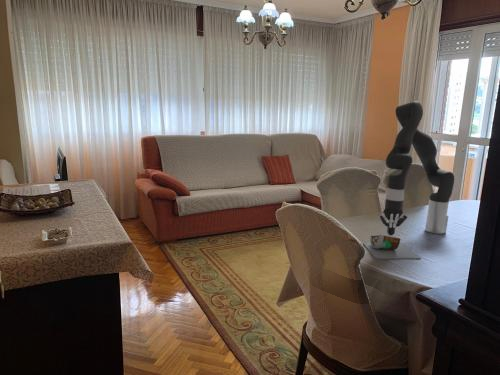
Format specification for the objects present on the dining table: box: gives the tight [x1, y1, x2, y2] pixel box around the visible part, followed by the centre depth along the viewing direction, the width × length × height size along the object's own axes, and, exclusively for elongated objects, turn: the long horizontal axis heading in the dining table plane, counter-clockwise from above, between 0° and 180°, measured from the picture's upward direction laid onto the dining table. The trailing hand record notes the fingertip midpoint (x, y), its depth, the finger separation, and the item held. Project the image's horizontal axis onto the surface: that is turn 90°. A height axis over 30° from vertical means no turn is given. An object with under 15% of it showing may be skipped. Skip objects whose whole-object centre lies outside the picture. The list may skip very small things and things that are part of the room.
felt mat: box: [362, 242, 422, 260], centre depth 170 cm, size 20×17×1 cm
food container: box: [369, 234, 401, 249], centre depth 170 cm, size 12×6×10 cm
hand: (390, 234), depth 168 cm, fingers closed
